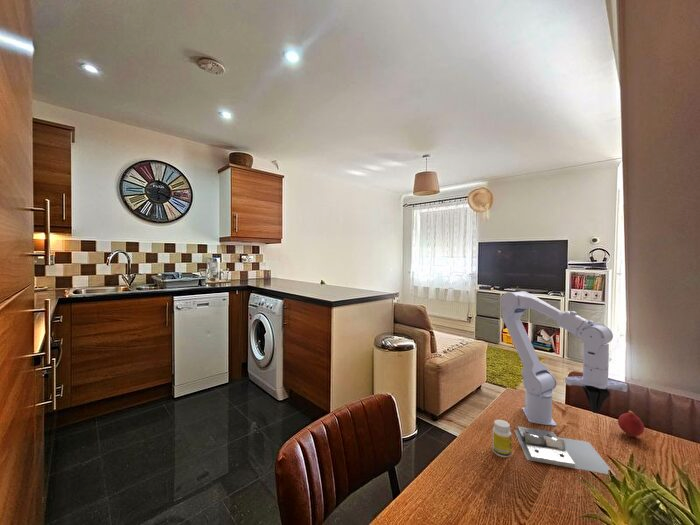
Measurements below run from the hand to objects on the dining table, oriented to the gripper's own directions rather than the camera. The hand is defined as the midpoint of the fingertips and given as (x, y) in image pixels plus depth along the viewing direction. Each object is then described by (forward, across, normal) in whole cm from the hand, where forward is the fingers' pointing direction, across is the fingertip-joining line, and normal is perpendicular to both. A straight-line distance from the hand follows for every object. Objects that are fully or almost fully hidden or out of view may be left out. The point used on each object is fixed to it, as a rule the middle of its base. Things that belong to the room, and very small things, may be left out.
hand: (594, 411), depth 87 cm
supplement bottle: (+10, -27, -12) cm, 31 cm away
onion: (+10, +13, +8) cm, 18 cm away
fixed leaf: (+10, -15, -4) cm, 18 cm away
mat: (+10, -11, -6) cm, 16 cm away
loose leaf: (+10, -15, -9) cm, 20 cm away
